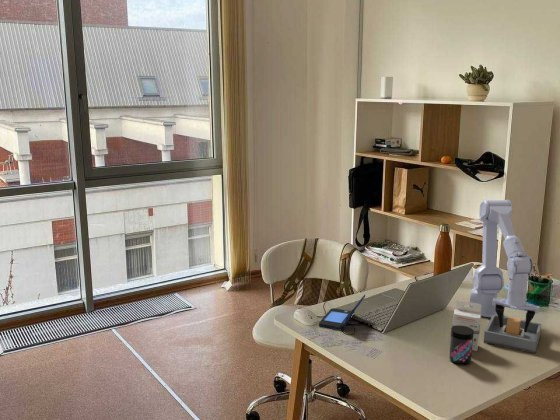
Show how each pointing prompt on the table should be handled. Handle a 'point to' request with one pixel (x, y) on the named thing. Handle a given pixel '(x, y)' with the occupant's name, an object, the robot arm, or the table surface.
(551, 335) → the table surface
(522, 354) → the table surface
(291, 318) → the table surface
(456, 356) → the supplement container
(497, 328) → the walled box
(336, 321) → the black screen device
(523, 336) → the socket
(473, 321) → the ink box
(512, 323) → the orange brown rectangular block
